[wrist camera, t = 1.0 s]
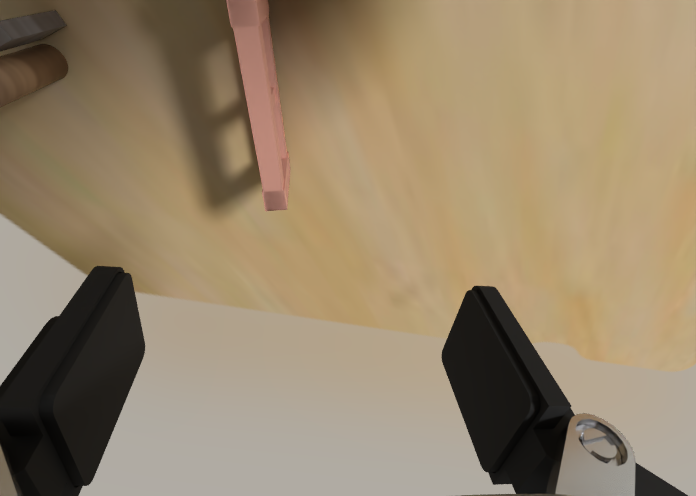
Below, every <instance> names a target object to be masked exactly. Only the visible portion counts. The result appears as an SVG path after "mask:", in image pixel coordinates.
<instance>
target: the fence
mask: <svg viewBox="0 0 696 496" xmlns="http://www.w3.org/2000/svg"><path fill="white" fill-rule="evenodd" d="M64 26H66V24H65V22H64V21H63V20H62V18H61V17H60V16H59V14H58V13H57V12H56V10H54V11H49V12H43V13H38V14H33V15H28V16H22V17H17V18H12V19H6V20H1V21H0V51H3V50H7V49H10V48H14V47H17V46H20V45H24V44H27V43H31V42H34V41H38V40H41V39H42V38H44V37H46V36H48V35H50V34H52V33H53V32H55V31H57V30H59V29H61V28H63V27H64ZM67 72H68V64H67V61H66V59H65V57H64V56H63V55H62V54H61V53H60V52H59V51H58V50H57V49H56V48H54V47H52V46H50V45H46V44H40V45H37V46H33V47H30V48H27V49H24V50H20V51H17V52H14V53H10V54H7V55H4V56H1V57H0V107H2V106H4V105H6V104H8V103H11V102H13V101H15V100H17V99H19V98H21V97H23V96H25V95H28V94H30V93H32V92H34V91H36V90H38V89H40V88H42V87H44V86H47V85H49V84H51V83H53V82H55V81H57V80H59V79H61V78H63V77H65V76H66V74H67Z"/></svg>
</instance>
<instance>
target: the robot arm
mask: <svg viewBox="0 0 696 496" xmlns="http://www.w3.org/2000/svg"><path fill="white" fill-rule="evenodd" d="M144 351H145V342H144V337H143V332H142V327H141V322H140V317H139V312H138V307H137V302H136V297H135V292H134V287H133V282H132V277H131V275H130V274H129V273H124V270H123V268H121V267H108V266H96V267H94V268H93V270H92V271H91V272H90V274H89V275H88V277H87V278H86V279H85V281H84V282H83V284H82V285H81V286H80V288H79V289H78V291H77V292H76V293H75V295H74V296H73V298H72V299H71V300H70V302H69V303H68V305H67V306H66V308H65V309H64V310H63V312H62V313H61V314H60V316H56V317H54V318H51V319H50V320H49V321H48V322H47V323H46V325H45V326H44V327H43V329H42V330H41V331H40V333H39V334H38V336H37V337H36V338H35V340H34V341H33V342H32V344H31V345H30V346H29V348H28V349H27V350H26V352H25V353H24V355H23V356H22V357H21V359H20V360H19V361H18V363H17V364H16V365H15V367H14V368H13V370H12V371H11V372H10V374H9V375H8V376H7V378H6V379H5V380H4V382H3V383H2V385H1V386H0V496H78V495H79V493H80V490H81V488H82V486H87V485H89V484H90V483H91V481H92V480H93V478H94V476H95V473H96V471H97V468H98V466H99V464H100V461H101V459H102V456H103V454H104V451H105V449H106V447H107V444H108V441H109V439H110V437H111V434H112V432H113V430H114V427H115V425H116V422H117V420H118V417H119V415H120V413H121V410H122V408H123V405H124V403H125V400H126V398H127V396H128V393H129V391H130V388H131V386H132V383H133V381H134V378H135V376H136V374H137V371H138V369H139V367H140V364H141V362H142V359H143V356H144V353H145V352H144ZM442 362H443V365H444V368H445V370H446V373H447V376H448V378H449V381H450V384H451V386H452V389H453V392H454V395H455V397H456V400H457V402H458V405H459V408H460V411H461V413H462V416H463V418H464V421H465V424H466V427H467V429H468V432H469V435H470V437H471V440H472V443H473V445H474V448H475V451H476V453H477V456H478V459H479V461H480V464H481V466H482V468H483V470H484V471H485V472H488V473H489V475H490V478H491V480H492V482H493V484H494V485H495V484H512V485H513V488H514V490H515V492H516V494H501V495H500V494H498V495H497V494H496V495H462V496H688V495H686V494H685V493H683V492H681V491H680V490H678V489H677V488H675V487H673V486H672V485H670V484H669V483H667V482H666V481H664V480H662V479H661V478H659V477H658V476H656V475H654V474H653V473H651V472H650V471H648V470H646V469H645V468H643V467H642V466H640V465H639V464H637V463H635V456H634V451H633V449H632V447H631V445H630V443H629V442H628V441H627V440H626V438H625V437H624V436H623V434H622V433H621V432H620V431H619V430H617V429H616V428H615V427H614V426H613V425H611V424H610V423H608V422H607V421H605V420H604V419H602V418H599V417H597V416H595V415H591V414H586V413H583V414H576V415H574V413H573V411H572V410H571V408H570V407H571V405H570V403H569V402H568V400H567V398H566V397H565V395H564V394H563V392H562V391H561V389H560V388H559V386H558V384H557V383H556V381H555V380H554V378H553V376H552V375H551V373H550V372H549V370H548V369H547V367H546V365H545V364H544V362H543V361H542V359H541V358H540V356H539V355H538V353H537V351H536V350H535V348H534V347H533V345H532V343H531V342H530V340H529V339H528V337H527V336H526V334H525V332H524V331H523V329H522V328H521V326H520V325H519V323H518V322H517V320H516V318H515V317H514V315H513V314H512V312H511V311H510V309H509V307H508V306H507V304H506V303H505V301H504V300H503V298H502V296H501V295H500V293H499V292H498V290H497V289H496V288H495V287H490V286H474V287H473V288H472V290H469V291H467V292H466V294H465V297H464V299H463V302H462V304H461V307H460V309H459V311H458V314H457V316H456V319H455V321H454V323H453V326H452V328H451V331H450V333H449V336H448V338H447V340H446V343H445V345H444V348H443V350H442Z"/></svg>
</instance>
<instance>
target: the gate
mask: <svg viewBox="0 0 696 496" xmlns="http://www.w3.org/2000/svg"><path fill="white" fill-rule="evenodd" d="M226 2H227V8H228V13H229V18H230V24H231V27H233V30H234V36H235V41H236V46H237V52H238V57H239V63H240V68H241V74H242V79H243V84H244V90H245V95H246V101H247V106H248V111H249V117H250V122H251V128H252V133H253V138H254V144H255V149H256V155H257V160H258V166H259V171H260V176H261V182H262V187H263V189H262V195H263V200H264V206H265V211H274V210H287V205H288V192H289V180H290V162H289V154H288V152H287V148H286V141H285V133H284V126H283V118H282V111H281V104H280V96H279V89H278V81H277V74H276V67H275V59H274V52H273V44H272V37H271V30H270V22H269V15H268V14H269V13H270V12H269V4H268V0H226Z"/></svg>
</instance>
